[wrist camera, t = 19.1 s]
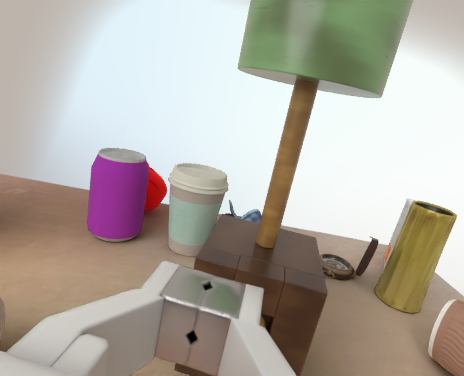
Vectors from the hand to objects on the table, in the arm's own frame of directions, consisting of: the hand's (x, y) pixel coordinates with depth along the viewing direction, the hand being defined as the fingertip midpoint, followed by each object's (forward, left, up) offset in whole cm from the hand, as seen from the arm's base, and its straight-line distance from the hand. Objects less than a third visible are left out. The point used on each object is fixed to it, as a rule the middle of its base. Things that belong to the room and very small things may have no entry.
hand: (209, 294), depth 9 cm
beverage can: (-8, +37, -18) cm, 42 cm away
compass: (+26, +31, -18) cm, 45 cm away
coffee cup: (+3, +35, -18) cm, 40 cm away
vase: (+33, +26, -18) cm, 46 cm away
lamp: (+8, +16, -18) cm, 25 cm away
